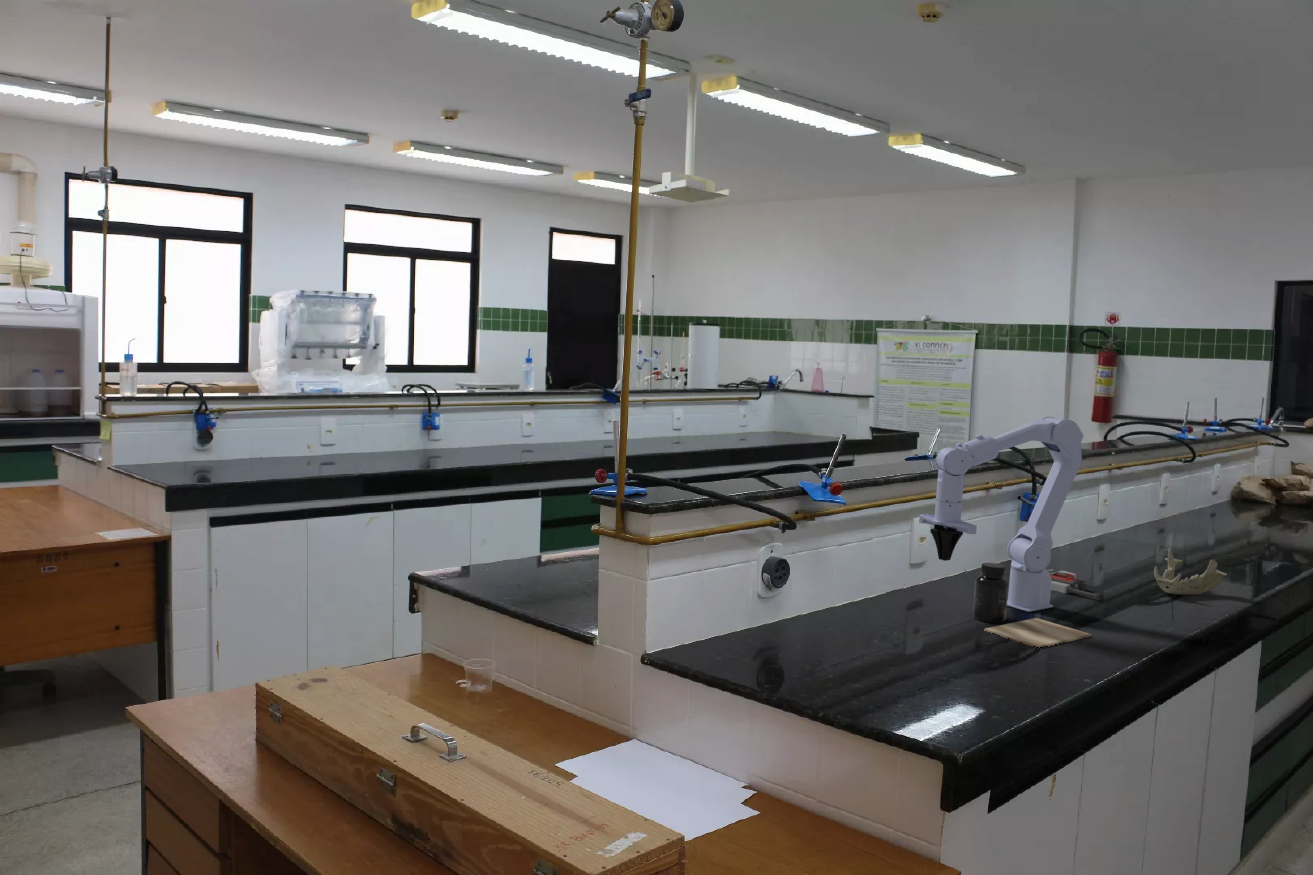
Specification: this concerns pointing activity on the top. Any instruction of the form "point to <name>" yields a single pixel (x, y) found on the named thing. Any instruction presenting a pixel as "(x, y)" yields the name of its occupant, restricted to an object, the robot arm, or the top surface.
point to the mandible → (1191, 585)
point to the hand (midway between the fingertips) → (944, 559)
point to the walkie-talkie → (1068, 583)
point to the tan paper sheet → (1037, 632)
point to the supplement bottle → (991, 594)
